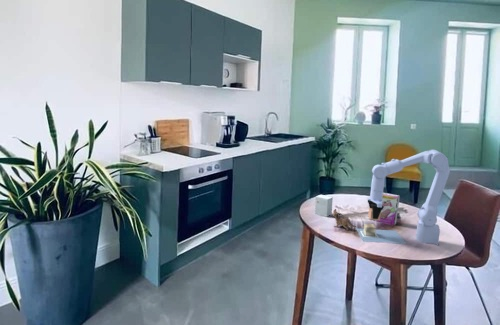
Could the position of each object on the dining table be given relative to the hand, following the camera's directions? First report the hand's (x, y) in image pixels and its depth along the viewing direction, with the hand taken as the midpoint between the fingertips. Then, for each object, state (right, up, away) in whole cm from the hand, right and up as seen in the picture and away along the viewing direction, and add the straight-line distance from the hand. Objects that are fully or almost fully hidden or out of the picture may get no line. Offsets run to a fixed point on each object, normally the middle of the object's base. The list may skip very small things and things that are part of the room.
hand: (373, 216), depth 176 cm
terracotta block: (0, -1, 0) cm, 1 cm away
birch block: (-2, -9, +2) cm, 9 cm away
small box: (-19, -3, +31) cm, 36 cm away
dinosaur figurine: (-13, -8, +10) cm, 18 cm away
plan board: (+3, -10, +1) cm, 11 cm away
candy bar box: (+13, -7, +20) cm, 25 cm away
